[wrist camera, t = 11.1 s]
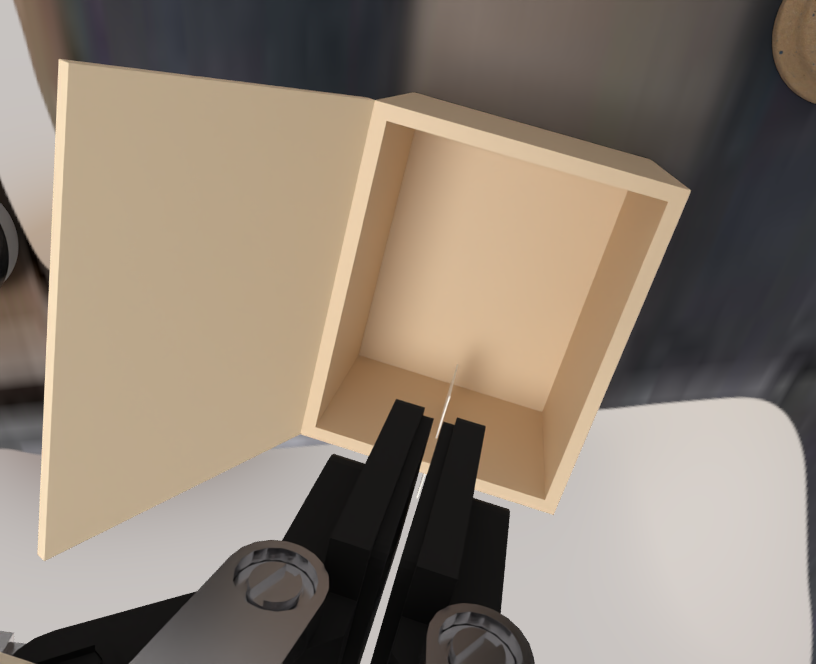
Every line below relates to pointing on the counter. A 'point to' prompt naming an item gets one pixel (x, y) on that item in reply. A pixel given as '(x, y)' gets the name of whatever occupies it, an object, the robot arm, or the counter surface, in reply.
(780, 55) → the candle holder
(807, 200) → the counter surface
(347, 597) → the robot arm
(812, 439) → the counter surface
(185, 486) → the lid flap
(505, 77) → the counter surface
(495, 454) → the carton
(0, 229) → the dark grey domed cylinder
